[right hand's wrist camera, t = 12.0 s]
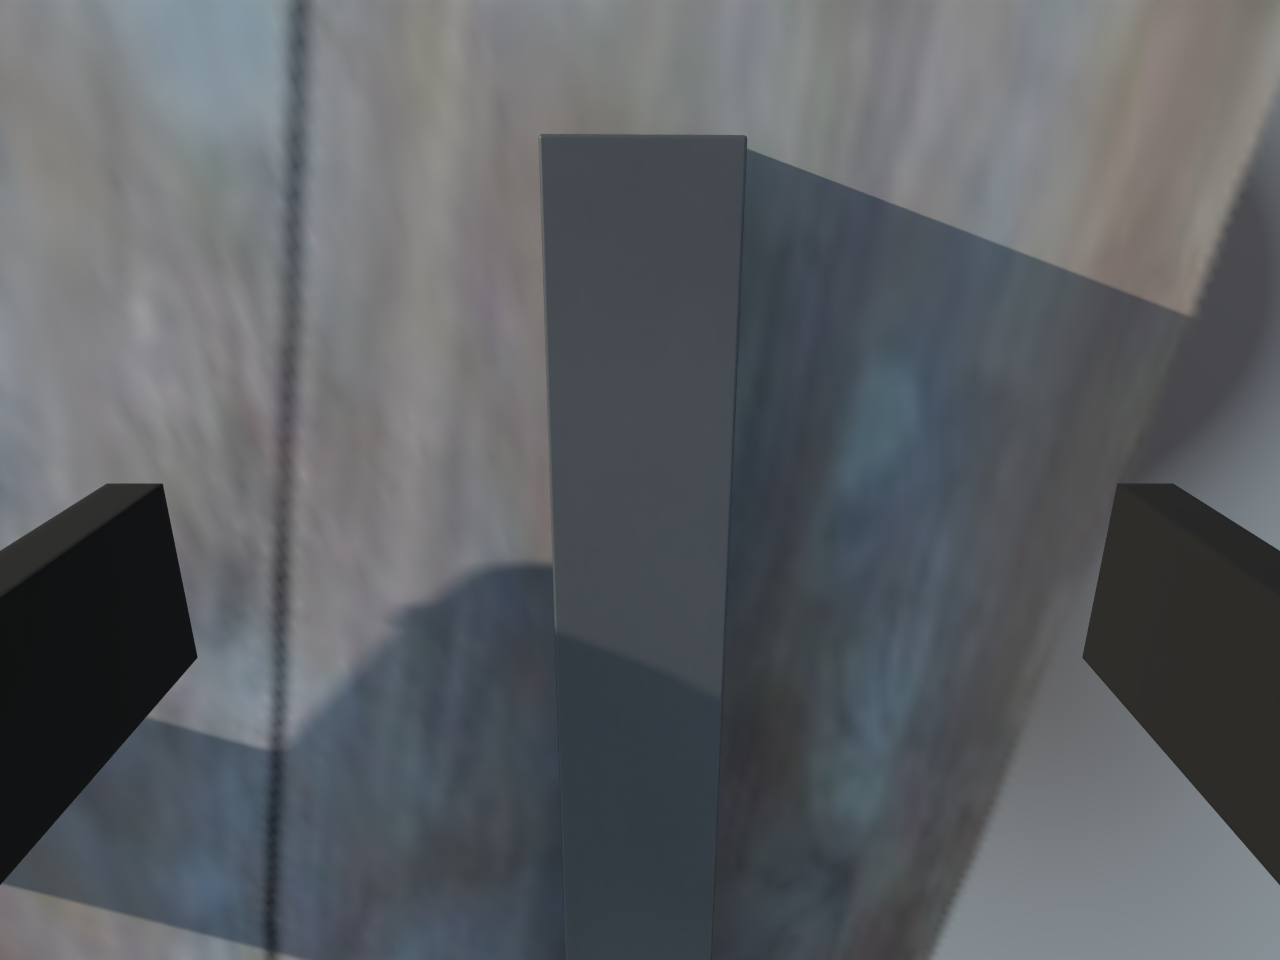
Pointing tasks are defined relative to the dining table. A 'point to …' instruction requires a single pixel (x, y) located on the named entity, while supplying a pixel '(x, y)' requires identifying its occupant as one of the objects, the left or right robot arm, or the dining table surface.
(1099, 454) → the dining table surface
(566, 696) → the beam
